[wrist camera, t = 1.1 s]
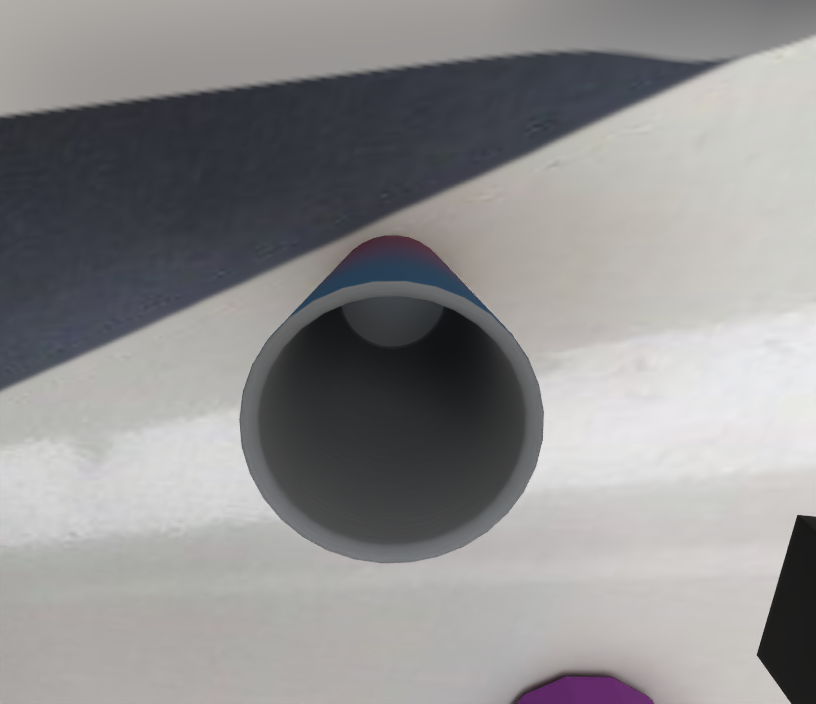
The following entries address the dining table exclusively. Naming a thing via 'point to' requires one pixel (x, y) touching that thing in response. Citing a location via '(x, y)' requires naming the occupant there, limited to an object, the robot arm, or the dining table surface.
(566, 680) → the mug
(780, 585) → the robot arm
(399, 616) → the dining table surface
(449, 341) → the cup
